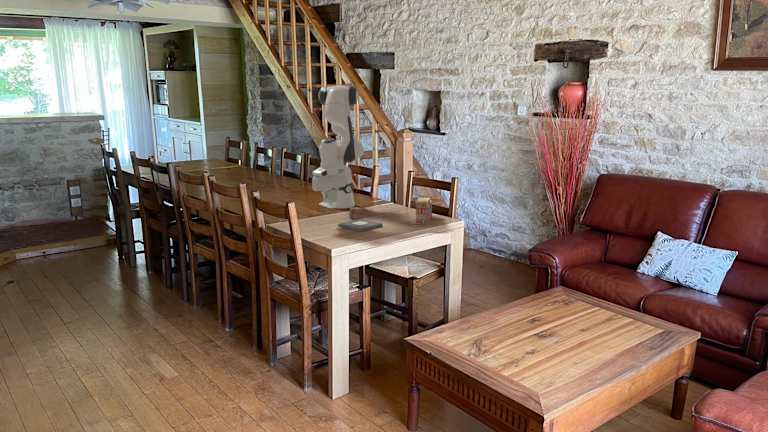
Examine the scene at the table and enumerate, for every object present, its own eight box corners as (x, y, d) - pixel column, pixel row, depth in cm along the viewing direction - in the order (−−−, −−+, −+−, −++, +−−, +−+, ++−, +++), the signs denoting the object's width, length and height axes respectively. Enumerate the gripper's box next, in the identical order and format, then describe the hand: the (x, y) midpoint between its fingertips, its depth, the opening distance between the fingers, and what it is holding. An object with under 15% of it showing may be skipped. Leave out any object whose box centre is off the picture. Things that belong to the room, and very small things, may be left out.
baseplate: (338, 226, 314) (338, 223, 313) (361, 221, 325) (361, 218, 324) (359, 231, 303) (359, 228, 302) (382, 226, 314) (382, 222, 313)
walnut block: (349, 219, 330) (349, 208, 329) (356, 217, 334) (356, 206, 333) (356, 220, 327) (355, 209, 326) (363, 219, 330) (362, 208, 329)
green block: (323, 201, 316) (322, 189, 314) (330, 199, 319) (330, 188, 318) (329, 202, 312) (329, 191, 311) (337, 201, 316) (336, 189, 314)
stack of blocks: (420, 216, 337) (420, 194, 335) (431, 216, 336) (432, 194, 334) (415, 224, 317) (415, 201, 314) (427, 225, 316) (427, 201, 313)
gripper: (340, 167, 321) (341, 193, 325) (309, 172, 307) (310, 199, 311) (348, 168, 317) (349, 195, 320) (317, 173, 303) (318, 201, 306)
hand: (330, 197), depth 315 cm, fingers closed on green block, 5 cm apart
